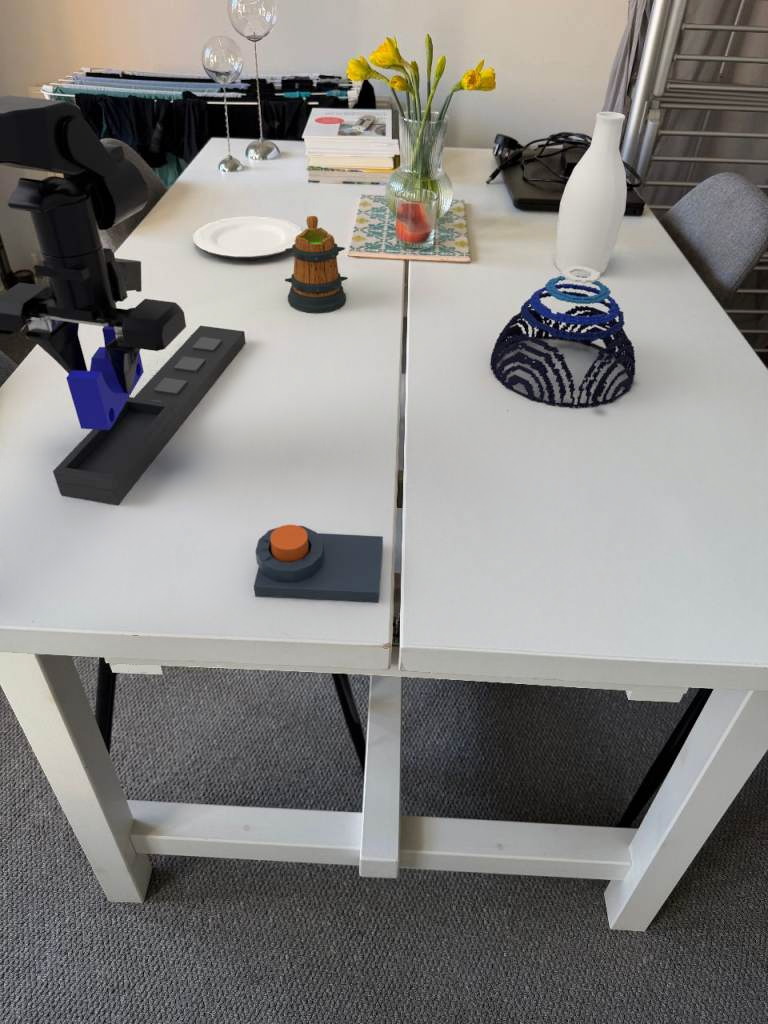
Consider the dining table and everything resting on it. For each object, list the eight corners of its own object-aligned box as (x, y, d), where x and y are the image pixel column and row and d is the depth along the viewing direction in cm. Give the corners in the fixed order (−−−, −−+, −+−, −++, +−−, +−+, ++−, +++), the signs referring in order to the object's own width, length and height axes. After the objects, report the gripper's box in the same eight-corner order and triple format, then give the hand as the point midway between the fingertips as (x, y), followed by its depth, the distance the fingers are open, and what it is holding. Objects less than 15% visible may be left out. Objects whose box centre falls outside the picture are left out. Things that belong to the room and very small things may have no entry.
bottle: (599, 285, 129) (634, 126, 112) (540, 271, 133) (566, 116, 116) (618, 265, 136) (655, 113, 119) (562, 252, 140) (589, 103, 124)
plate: (182, 233, 143) (181, 223, 142) (283, 220, 150) (283, 210, 149) (210, 272, 129) (208, 262, 128) (320, 256, 136) (320, 246, 135)
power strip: (118, 505, 80) (111, 481, 78) (60, 495, 81) (52, 471, 79) (245, 343, 109) (243, 322, 107) (202, 337, 111) (198, 316, 108)
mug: (350, 312, 118) (350, 241, 111) (287, 315, 117) (282, 243, 109) (343, 280, 128) (342, 212, 120) (284, 281, 127) (280, 213, 119)
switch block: (252, 596, 71) (249, 574, 69) (266, 540, 77) (264, 518, 75) (378, 602, 70) (379, 580, 68) (382, 545, 77) (383, 524, 75)
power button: (268, 561, 71) (267, 548, 69) (274, 536, 73) (273, 523, 72) (306, 563, 71) (305, 550, 69) (310, 538, 73) (309, 525, 72)
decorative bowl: (545, 324, 117) (561, 234, 107) (657, 372, 106) (687, 275, 97) (463, 366, 106) (473, 269, 96) (579, 423, 95) (603, 320, 86)
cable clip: (105, 370, 85) (93, 322, 81) (143, 371, 85) (133, 324, 81) (66, 427, 76) (51, 377, 72) (109, 429, 76) (96, 379, 72)
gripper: (197, 228, 74) (216, 364, 85) (32, 209, 77) (69, 344, 87) (146, 269, 66) (174, 415, 76) (-37, 247, 69) (13, 390, 79)
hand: (107, 388), depth 80 cm, fingers closed on cable clip, 5 cm apart
